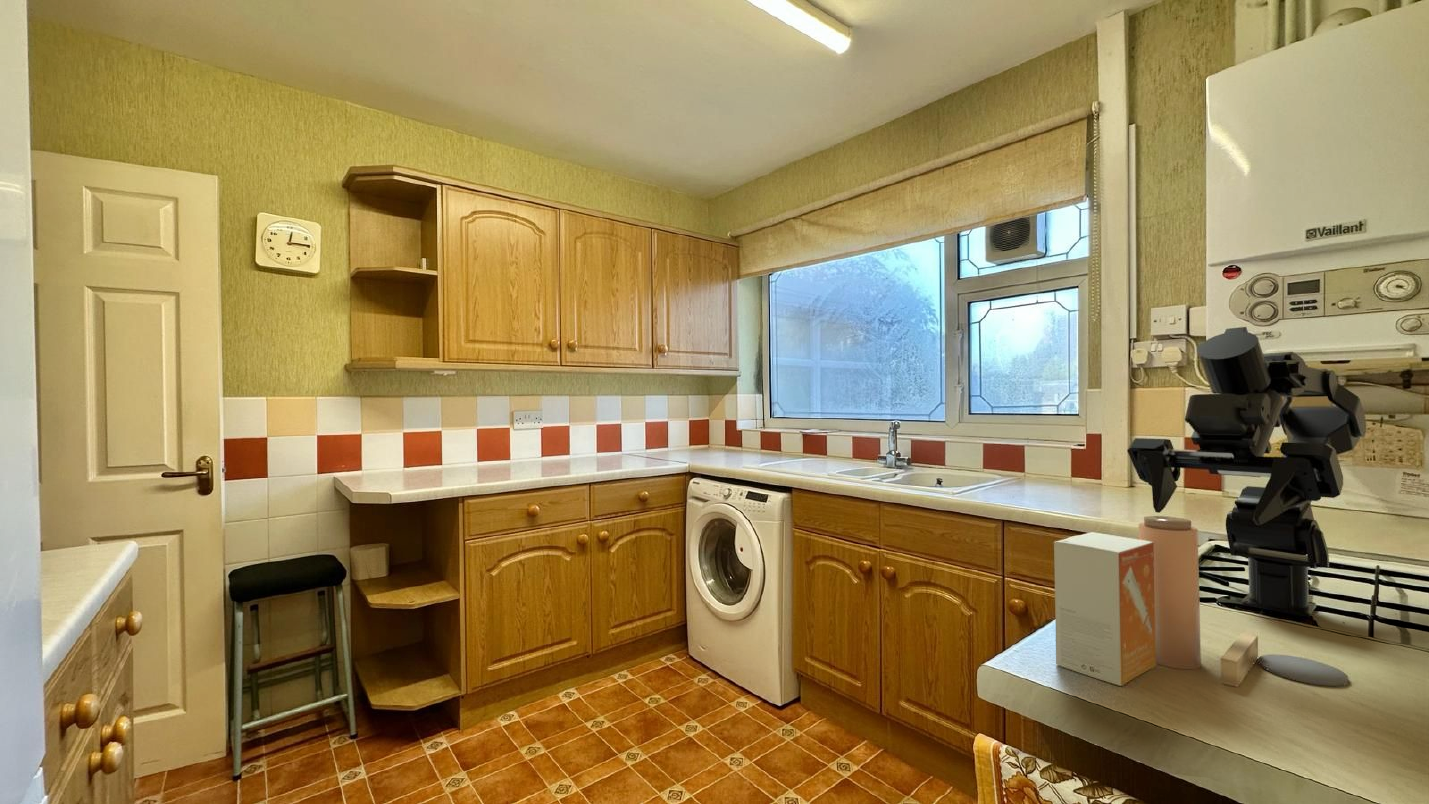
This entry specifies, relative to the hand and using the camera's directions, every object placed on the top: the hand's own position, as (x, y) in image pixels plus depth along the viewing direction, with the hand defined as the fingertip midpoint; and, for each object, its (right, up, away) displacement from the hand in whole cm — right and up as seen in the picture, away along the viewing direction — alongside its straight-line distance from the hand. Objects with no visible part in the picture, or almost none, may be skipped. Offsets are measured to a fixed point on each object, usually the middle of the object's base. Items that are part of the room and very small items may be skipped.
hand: (1203, 515), depth 67 cm
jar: (-7, -15, -4) cm, 16 cm away
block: (-2, -14, -7) cm, 16 cm away
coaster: (+4, -14, -7) cm, 17 cm away
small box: (-14, -15, -5) cm, 21 cm away
